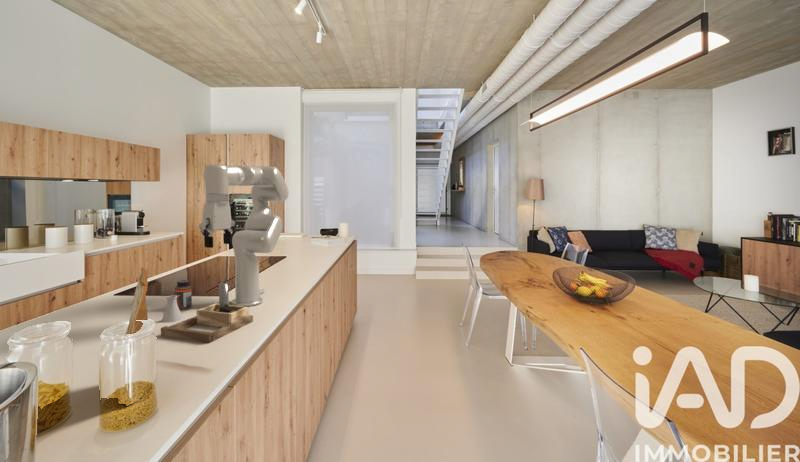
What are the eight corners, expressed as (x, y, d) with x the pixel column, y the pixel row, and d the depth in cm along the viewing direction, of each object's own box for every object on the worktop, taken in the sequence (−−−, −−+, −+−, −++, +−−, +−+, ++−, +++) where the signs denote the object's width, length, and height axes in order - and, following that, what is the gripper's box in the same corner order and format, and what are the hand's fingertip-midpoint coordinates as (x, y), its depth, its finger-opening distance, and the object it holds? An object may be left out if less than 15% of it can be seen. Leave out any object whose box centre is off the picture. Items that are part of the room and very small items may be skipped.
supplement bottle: (171, 309, 149) (170, 281, 148) (185, 305, 154) (184, 278, 153) (181, 311, 146) (181, 283, 145) (195, 307, 152) (194, 280, 151)
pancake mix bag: (159, 369, 97) (156, 265, 95) (149, 406, 80) (145, 280, 78) (128, 374, 94) (124, 266, 92) (110, 413, 77) (105, 282, 75)
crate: (215, 316, 136) (215, 303, 136) (248, 320, 133) (248, 307, 132) (196, 324, 127) (196, 310, 127) (231, 328, 124) (231, 314, 124)
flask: (173, 327, 128) (172, 299, 127) (155, 325, 129) (154, 298, 128) (189, 321, 135) (188, 294, 134) (172, 319, 136) (171, 293, 136)
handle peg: (223, 318, 132) (222, 282, 131) (230, 318, 132) (230, 283, 131) (217, 320, 129) (216, 284, 128) (224, 321, 129) (224, 285, 128)
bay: (210, 320, 136) (210, 309, 136) (253, 325, 132) (253, 314, 132) (161, 340, 116) (160, 327, 116) (209, 347, 112) (209, 334, 111)
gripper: (224, 198, 143) (226, 242, 145) (190, 199, 126) (191, 248, 128) (241, 199, 141) (242, 243, 143) (208, 199, 124) (210, 249, 126)
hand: (218, 245), depth 135 cm, fingers open, 9 cm apart
